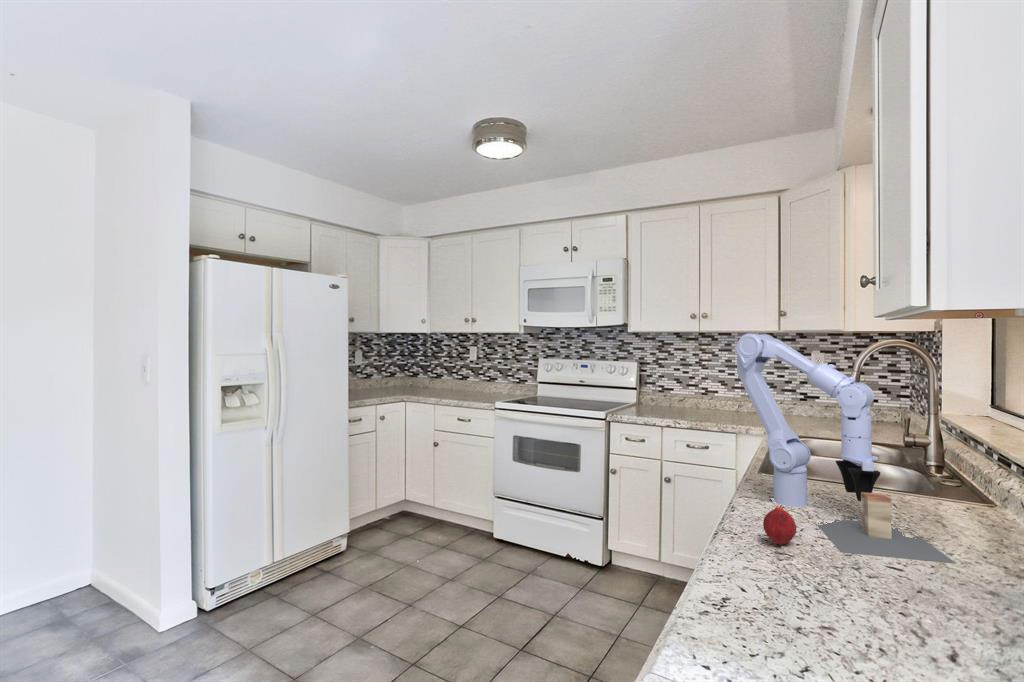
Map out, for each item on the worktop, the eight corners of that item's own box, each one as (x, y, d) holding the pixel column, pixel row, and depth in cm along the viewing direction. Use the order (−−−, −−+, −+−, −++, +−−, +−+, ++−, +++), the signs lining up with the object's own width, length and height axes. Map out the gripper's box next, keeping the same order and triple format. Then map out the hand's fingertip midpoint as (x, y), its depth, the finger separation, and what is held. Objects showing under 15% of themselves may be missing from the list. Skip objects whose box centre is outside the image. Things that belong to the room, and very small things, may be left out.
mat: (810, 519, 118) (810, 517, 118) (903, 526, 112) (903, 524, 112) (841, 554, 97) (841, 552, 97) (957, 566, 91) (957, 563, 91)
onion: (799, 552, 98) (798, 510, 98) (765, 548, 100) (765, 507, 100) (793, 542, 103) (792, 501, 103) (761, 538, 105) (761, 499, 105)
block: (861, 530, 109) (860, 492, 109) (883, 532, 107) (883, 493, 108) (868, 536, 105) (867, 497, 105) (891, 538, 104) (890, 498, 104)
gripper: (889, 442, 109) (891, 507, 109) (864, 432, 123) (866, 489, 122) (851, 440, 111) (852, 504, 111) (831, 431, 125) (832, 487, 124)
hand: (857, 496), depth 117 cm, fingers open, 7 cm apart
